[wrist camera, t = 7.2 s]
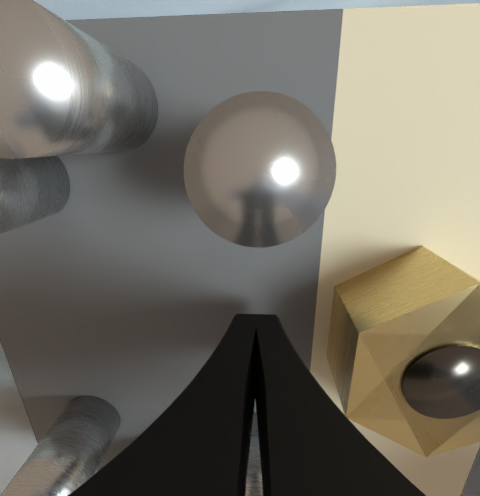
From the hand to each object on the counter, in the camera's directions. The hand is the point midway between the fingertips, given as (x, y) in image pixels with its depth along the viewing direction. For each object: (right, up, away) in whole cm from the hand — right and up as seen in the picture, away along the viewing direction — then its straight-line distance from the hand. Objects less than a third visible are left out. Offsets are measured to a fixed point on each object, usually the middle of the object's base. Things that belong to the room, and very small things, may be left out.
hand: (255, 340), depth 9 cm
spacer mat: (0, 0, +1) cm, 1 cm away
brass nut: (+5, 0, +1) cm, 5 cm away
